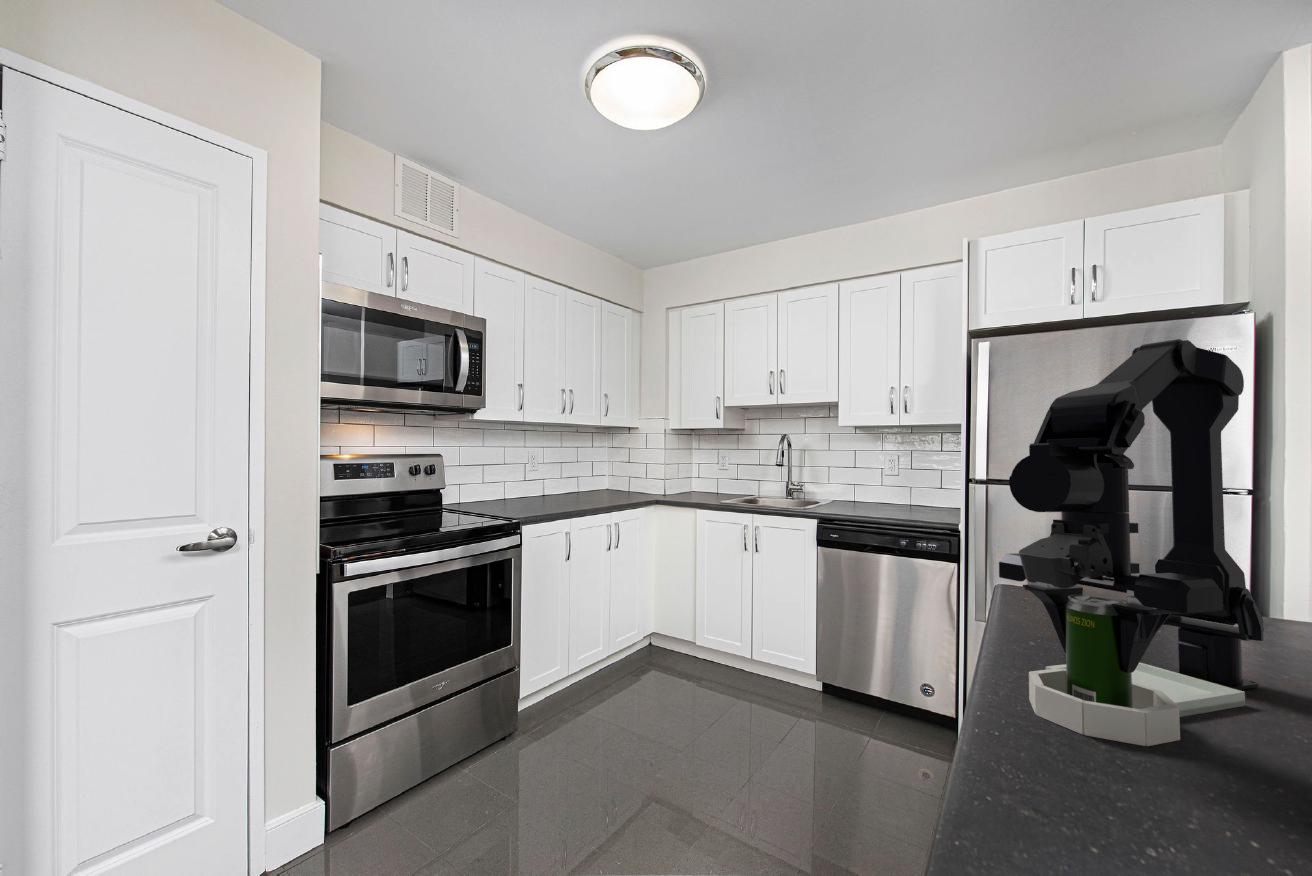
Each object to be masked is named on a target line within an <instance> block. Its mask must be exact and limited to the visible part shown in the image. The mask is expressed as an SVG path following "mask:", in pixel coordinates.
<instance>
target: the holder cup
mask: <svg viewBox="0 0 1312 876" xmlns="http://www.w3.org/2000/svg"><path fill="white" fill-rule="evenodd" d="M1028 695H1029V696H1028V698H1029V699H1028V700H1029V702H1030V705H1031V707H1032V709H1033V711H1034V714H1035V715H1036V716H1037V717H1040V718H1041V719H1045V720H1046V721H1049V722H1052V723H1054V724H1056V725H1059V726H1061V727H1063V728H1065V729H1068V730H1071V731H1073V732H1076V733H1078V734H1080V735H1084V736H1086V737H1092V738H1098V739H1105V740H1110V741H1116V742H1120V743H1126V744H1131V745H1137V746H1143V747H1145V746H1146V747H1149V746H1150V747H1151V746H1156V745H1161V744H1162V745H1163V744H1166V743H1172V742H1177V741H1180V740H1181V723H1180V722H1181V720H1180V718H1181V717H1180V715H1179V706H1178V705H1177V704H1175V703H1174V702H1173V701H1172V700H1171V699H1170V698H1169V697H1168V696H1167V695H1166V694H1165V693H1164V692H1162V691H1160V690H1157V689H1154V688H1151V687H1147V686H1144V685H1141V684H1138V683H1135V682H1132V706H1133V708H1128V707H1122V706H1116V705H1109V704H1103V703H1097V702H1090V701H1085V700H1082V699H1079V698H1076V697H1074V696H1071V695H1068V694H1067V673H1066V669H1063V668H1061V669H1060V668H1056V669H1048V670H1046V669H1040V670H1033V671H1028Z"/></svg>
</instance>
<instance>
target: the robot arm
mask: <svg viewBox="0 0 1312 876" xmlns="http://www.w3.org/2000/svg"><path fill="white" fill-rule="evenodd" d="M1244 380H1245V379H1244V374H1243V372H1242V369H1241V368H1240V367H1239V366H1238V365H1237V364H1236V363H1235V362H1234V361H1233V360H1232V359H1231V358H1230V357H1229V356H1228V355H1226V354H1224V353H1220V352H1215V351H1212V350H1208V349H1204V348H1201V347H1198V346H1196V345H1195V344H1194V343H1192V342H1191V340H1188V339H1185V340H1183V339H1180V338H1177V339H1171V340H1164V341H1157V342H1151V343H1145V344H1141V345H1140V346H1138V347H1135V348H1134V349H1133V350H1132V353H1131V356H1130V357H1128V358H1127V359H1125V360H1124V361H1123V362H1122V363H1121V364H1120V365H1119V366H1116V368H1115V369H1114V370H1112V371H1111V372H1110V373H1109V374H1108V375H1106V376H1105V377H1104V378H1103V379H1102V380H1100V381H1099V382H1098V383H1097V384H1095V385H1093V386H1089V387H1084V388H1081V389H1078V390H1077V389H1076V390H1073V391H1070V392H1067V393H1066V394H1062V395H1060V396H1057V397H1056V398H1055V399H1054V400H1053V402H1052V403H1051V404H1050V406H1049V408H1048V410H1047V412H1046V413H1045V416H1044V419H1042V420H1043V421H1042V423H1041V425H1040V427H1039V429H1038V432H1037V435H1036V436H1035V439H1034V442H1033V443H1029V445H1028V447H1029V448H1028V450H1029V451H1028V453H1029V454H1028V455H1027V456H1025V457H1024V458H1022V459H1021V460H1019V461H1018V462H1017V463H1016V465H1015V466H1014V468H1013V469H1012V471H1011V474H1010V476H1009V478H1008V484H1009V486H1008V487H1009V490H1010V493H1011V494H1012V497H1013V498H1014V500H1015V501H1016V502H1017V503H1018V504H1019V505H1020V506H1021V507H1023V508H1025V509H1026V510H1027V511H1028V510H1029V511H1032V512H1035V513H1060V514H1061V516H1060V517H1061V519H1052V523H1051V525H1050V534H1049V536H1047V537H1043V538H1040V539H1038V540H1036V541H1034V542H1032V543H1030V544H1029V545H1026V546H1025V547H1023V548H1021V549H1019V551H1018V553H1017V552H1016V553H1004V555H1003V556H1002V557H1001V558H1000V560H999V561H998V577H999V578H1000V579H1006V580H1010V581H1016V582H1024V581H1026V582H1027V584H1022V587H1023V589H1024V590H1025V591H1029V592H1030V593H1032V594H1033V595H1034V596H1035V597H1036V598H1037V599H1039V601H1040V602H1041V603H1042V604H1043V606H1044V608H1045V610H1046V612H1047V614H1048V616H1049V618H1050V620H1051V623H1052V625H1053V628H1054V631H1055V632H1056V633H1055V634H1056V635H1057V638H1058V640H1059V642H1060V644H1061V648H1062V649H1063V652H1064V654H1065V655H1066V624H1065V605H1066V603H1067V602H1068V596H1069V595H1084V594H1083V591H1084V589H1083V587H1081V586H1086V587H1091V588H1096V589H1102V590H1107V591H1114V592H1119V593H1123V594H1126V603H1114V604H1112V606H1113V608H1114V609H1115V611H1116V613H1117V614H1118V616H1119V618H1120V622H1121V662H1122V669H1123V671H1124V672H1126V673H1132V672H1134V671H1135V669H1136V667H1137V665H1138V664H1139V662H1140V663H1141V660H1142V659H1143V657H1144V655H1145V653H1146V652H1147V650H1148V647H1149V646H1150V645H1151V643H1152V641H1153V639H1154V638H1155V636H1156V635H1157V633H1158V631H1159V630H1161V628H1162V627H1163V626H1172V627H1176V628H1177V662H1178V665H1177V668H1171V669H1168V670H1169V671H1172V672H1176V673H1179V674H1183V675H1186V676H1190V677H1193V678H1197V679H1201V680H1204V681H1208V682H1211V683H1215V684H1218V685H1222V686H1226V687H1229V688H1233V689H1236V690H1240V691H1242V690H1243V691H1244V690H1248V689H1253V688H1254V689H1255V688H1259V687H1260V685H1259V682H1257V681H1254V680H1251V679H1250V680H1249V679H1245V678H1244V677H1243V675H1244V674H1243V672H1244V671H1243V652H1242V651H1243V649H1242V647H1243V646H1242V641H1246V642H1249V641H1258V642H1263V641H1264V631H1265V627H1264V618H1263V616H1262V614H1261V611H1260V610H1259V607H1258V606H1257V603H1256V602H1255V600H1254V598H1253V596H1252V594H1251V591H1250V590H1249V588H1247V586H1246V578H1245V576H1246V575H1245V572H1244V570H1243V569H1242V568H1241V567H1240V565H1238V563H1237V562H1236V561H1235V560H1234V559H1233V557H1232V556H1231V555H1230V553H1229V552H1228V551H1227V550H1226V544H1225V543H1226V542H1225V541H1226V540H1225V539H1226V538H1225V537H1226V536H1225V518H1224V517H1225V514H1224V513H1225V511H1224V509H1225V508H1224V490H1223V489H1224V483H1223V460H1222V459H1223V455H1222V454H1223V453H1222V451H1223V450H1222V431H1223V430H1224V429H1225V428H1226V426H1227V425H1228V424H1229V423H1230V421H1231V420H1232V419H1233V417H1234V416H1235V415H1236V414H1237V413H1238V411H1239V399H1240V397H1239V396H1240V395H1242V394H1243V392H1244V388H1245V387H1244V386H1245V385H1244V384H1245V381H1244ZM1150 403H1151V405H1152V410H1153V411H1152V412H1153V413H1154V416H1156V418H1158V419H1159V421H1160V422H1161V424H1163V426H1165V428H1166V430H1168V431H1169V436H1170V469H1171V474H1170V475H1171V501H1172V503H1171V504H1172V505H1171V506H1172V507H1171V508H1172V534H1173V535H1172V536H1173V537H1172V541H1173V542H1172V544H1173V546H1172V548H1171V549H1170V550H1169V551H1168V553H1166V555H1165V556H1164V557H1163V558H1161V559H1160V558H1159V559H1158V560H1157V561H1156V563H1155V565H1154V570H1155V573H1142V574H1140V573H1141V572H1140V563H1137V562H1132V560H1131V534H1139V523H1138V522H1130V497H1129V496H1130V493H1129V485H1130V484H1129V470H1133V469H1134V468H1135V464H1134V462H1133V460H1132V459H1131V458H1130V457H1129V456H1127V455H1126V454H1125V452H1126V451H1127V450H1128V449H1129V448H1131V446H1132V444H1134V443H1133V442H1134V441H1135V440H1136V438H1137V437H1138V436H1139V434H1140V433H1141V431H1142V429H1143V428H1144V426H1145V425H1146V424H1145V419H1146V418H1145V413H1144V412H1143V409H1144V408H1145V407H1147V406H1148V405H1149V404H1150ZM1132 574H1133V575H1132ZM1136 574H1139V575H1136ZM1077 585H1080V586H1077ZM1235 625H1237V626H1235Z"/></svg>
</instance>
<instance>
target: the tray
mask: <svg viewBox="0 0 1312 876" xmlns="http://www.w3.org/2000/svg"><path fill="white" fill-rule="evenodd" d="M1056 668H1060V669H1061V668H1063V669H1066V663H1065V664H1057V665H1049V666H1045V670H1048V669H1056ZM1132 682H1135V683H1138V684H1141V685H1144V686H1147V687H1151V688H1154V689H1157V690H1160V691H1162V692H1164V693H1165V694H1166V695H1167V696H1168V697H1169V698H1170V699H1171V700H1172V701H1173V702H1174V703H1175V704H1177V705H1178V706H1179V715H1180V718H1183V717H1189V716H1195V715H1199V714H1206V713H1212V712H1216V711H1217V712H1218V711H1222V710H1223V711H1224V710H1228V709H1235V708H1240V707H1241V708H1242V707H1245V706H1246V692H1245V691H1244V690H1243V691H1242V690H1236V689H1233V688H1229V687H1226V686H1222V685H1218V684H1215V683H1211V682H1208V681H1204V680H1201V679H1197V678H1193V677H1190V676H1186V675H1183V674H1179V673H1176V672H1172V671H1169V669H1165V668H1161V667H1158V666H1154V665H1152V664H1147V663H1144V662H1141V661H1140V662H1139V664H1138V665H1137V667H1136V669H1135V671H1134V672H1132Z"/></svg>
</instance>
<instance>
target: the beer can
mask: <svg viewBox="0 0 1312 876" xmlns="http://www.w3.org/2000/svg"><path fill="white" fill-rule="evenodd" d="M1114 603H1127V601H1123V600H1120V599H1115V598H1111V597H1104V596H1098V595H1090V594H1089V595H1088V594H1086V595H1085V594H1082V595H1069V596H1068V602H1067V603H1066V605H1065V624H1066V654H1065V660H1066V662H1065V664H1066V673H1067V694H1068V695H1071V696H1074V697H1076V698H1079V699H1082V700H1085V701H1090V702H1097V703H1103V704H1109V705H1116V706H1122V707H1128V708H1133V706H1132V673H1126V672H1124V671H1123V669H1122V662H1121V622H1120V618H1119V616H1118V614H1117V613H1116V611H1115V609H1114V608H1113V606H1112V604H1114Z"/></svg>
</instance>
